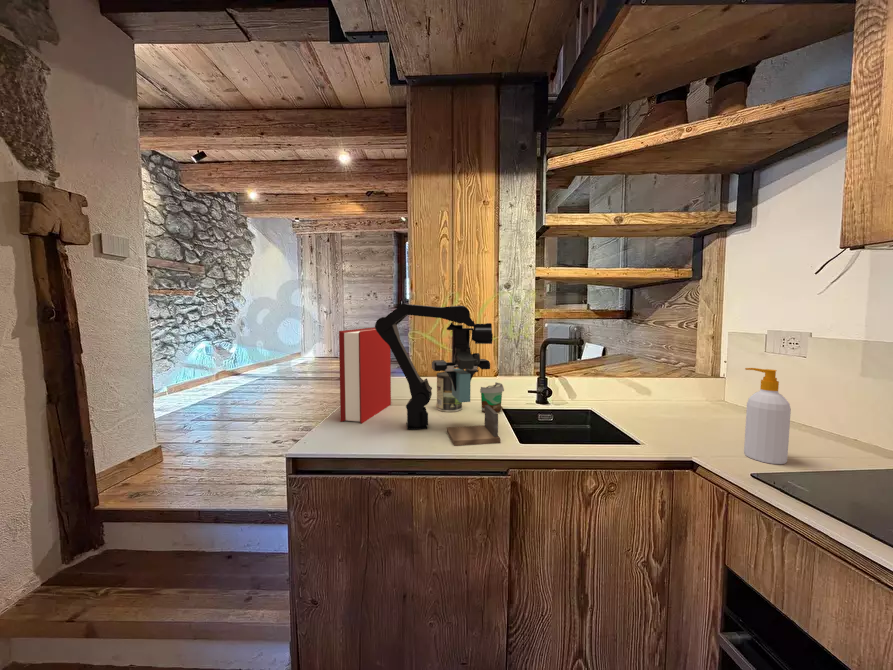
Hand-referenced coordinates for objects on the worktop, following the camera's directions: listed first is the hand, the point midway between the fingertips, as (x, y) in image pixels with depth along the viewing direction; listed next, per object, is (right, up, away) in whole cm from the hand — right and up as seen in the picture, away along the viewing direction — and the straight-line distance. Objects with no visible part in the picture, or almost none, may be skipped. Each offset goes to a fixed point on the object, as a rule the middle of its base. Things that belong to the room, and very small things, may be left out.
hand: (460, 390), depth 118 cm
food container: (+14, -11, +21) cm, 28 cm away
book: (-35, -12, +19) cm, 41 cm away
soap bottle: (+80, -15, -23) cm, 84 cm away
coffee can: (-4, -11, +24) cm, 27 cm away
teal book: (0, -3, 0) cm, 2 cm away
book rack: (+3, -13, -8) cm, 16 cm away
